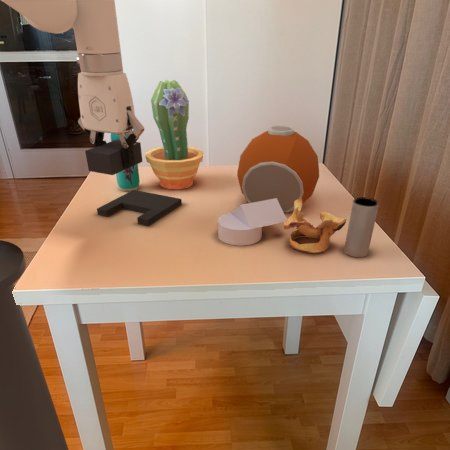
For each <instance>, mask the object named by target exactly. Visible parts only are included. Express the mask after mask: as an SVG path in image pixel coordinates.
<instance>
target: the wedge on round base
mask: <svg viewBox="0 0 450 450" xmlns="http://www.w3.org/2000/svg"><path fill="white" fill-rule="evenodd" d="M286 221H288V219H287V217H286V215H285V212H283V211H282V208H281V206H280V204H279V202H278V200H277V198H274V199H269V200H264V201H259V202H253V203H249V202H248V203H243V204H239V205H238V206H237V207H236V208H234V209H233V210H231V211H230V212H228V213H225V214H222V215H220V216H219V217H218V219H217V237H218V239H219V241H221V242H223V243H225V244H227V245H232V246H238V247H239V246H240V247H241V246H249V245H250V246H251V245H254V244H256V243H259V241H260V240H261V239H262V232H263V227H267V226H272V225H276V224H281V223H284V222H286Z"/></svg>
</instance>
